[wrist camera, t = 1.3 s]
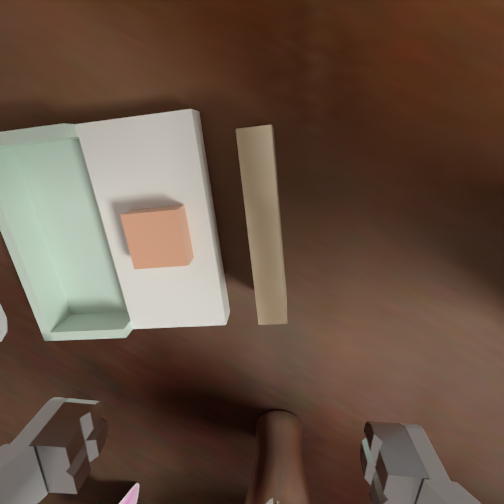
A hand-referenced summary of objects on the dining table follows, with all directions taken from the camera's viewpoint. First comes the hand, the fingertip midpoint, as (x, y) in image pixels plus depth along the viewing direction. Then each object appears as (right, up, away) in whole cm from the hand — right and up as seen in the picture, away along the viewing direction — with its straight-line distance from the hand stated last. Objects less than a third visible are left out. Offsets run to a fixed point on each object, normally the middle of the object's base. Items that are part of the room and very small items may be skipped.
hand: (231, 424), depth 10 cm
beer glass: (+4, -17, +29) cm, 34 cm away
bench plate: (-8, +8, +21) cm, 24 cm away
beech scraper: (+2, +9, +20) cm, 22 cm away
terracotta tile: (-8, +7, +19) cm, 21 cm away
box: (-17, +7, +22) cm, 29 cm away
